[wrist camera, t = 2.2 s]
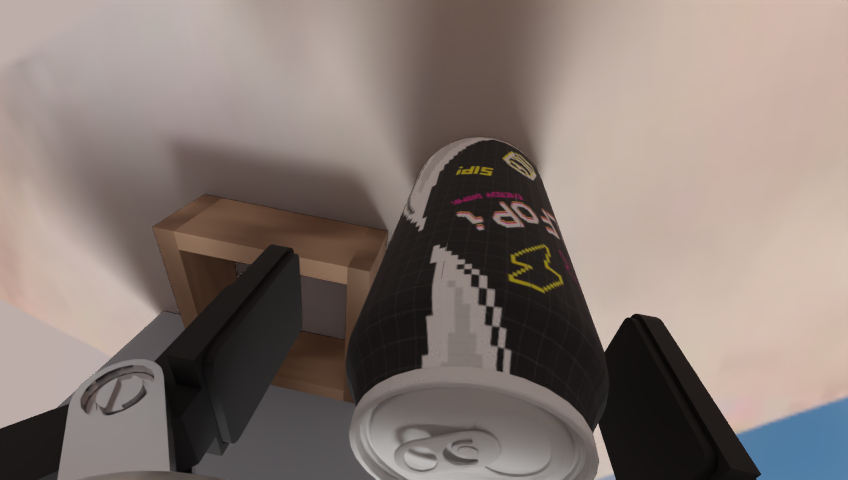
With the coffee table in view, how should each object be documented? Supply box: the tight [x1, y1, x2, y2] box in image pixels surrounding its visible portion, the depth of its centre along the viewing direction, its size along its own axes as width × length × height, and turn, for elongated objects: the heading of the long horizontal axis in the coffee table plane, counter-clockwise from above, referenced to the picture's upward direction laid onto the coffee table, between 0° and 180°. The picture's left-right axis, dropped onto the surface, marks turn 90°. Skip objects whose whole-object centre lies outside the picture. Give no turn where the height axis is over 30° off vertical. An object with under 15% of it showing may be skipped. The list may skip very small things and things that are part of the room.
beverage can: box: [345, 137, 609, 480], centre depth 11 cm, size 6×6×12 cm
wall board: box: [57, 311, 376, 480], centre depth 18 cm, size 20×2×14 cm, turn 82°
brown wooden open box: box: [152, 195, 388, 403], centre depth 20 cm, size 10×10×4 cm
